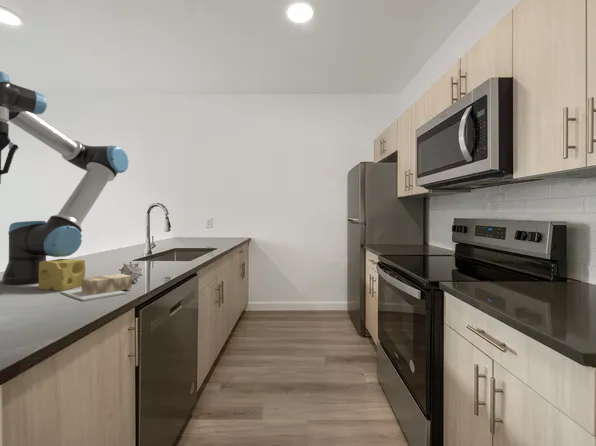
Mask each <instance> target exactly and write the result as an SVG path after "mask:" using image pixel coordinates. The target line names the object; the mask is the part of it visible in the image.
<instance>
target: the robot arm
mask: <svg viewBox="0 0 596 446" xmlns="http://www.w3.org/2000/svg"><path fill="white" fill-rule="evenodd" d="M47 104H48V101H47V98H46V96H45V95H43V94H42V93H40V92H37V91H36V90H32V89H30V88H26V87H23V86H20V85H18V84H17V85H16V84H14V83H12V82H11V80H10V76H9V75H8V74H7V73H6V72H3V71H0V185H1V183H2V182H1V180H2V177H1V176H2V175H6V174H8V173H9V170H10V168H11V164H12V162H13V159H14V155H15V153H16V152H17V150H18V149H19V146H18V145H17V144H16V143H13V142H12V141H11V139H10V137H9V136H10V135H9V133H10V132H9V131H10V130H9V128H10V127H9V126H10V125H9V123H8V122H10V123H12V124H13V125H15V126H16V127H18V128H20V129H21V130H22V131H24V132H26V133H27V134H29V135H30V136H32V137H34V138H35V139H37V140H39V141H40V142H42V143H43V144H45V145H46V146H48V147H49V148H50V149H52V150H54V151H55V152H57V153H59V154H60V155H61V157H62V159H64V160H65V161H67V162H69V163H70V164H71V165H73V166H75V167H76V168H78V169H81V170H84V171H86V173H85V174H84V175H83V176H82V179H81V180H80V182H79V183H77V186H76V187H75V189H74V190H73V192H72V193H71V195H70V196H69V197H68V199H67V200H66V202H65V203H64V205H63V206H62V208H60V211H59V212H58V213H57V214H54V215H53V214H52V215H51V216H50V217H49V218H48V220H47V221H45V220H30V221H17V222H16V221H14V222H12V223H10V225H9V229H8V234H7V235H8V263H7V264H6V267H5V270H4V272H3V274H2V283H3V284H6V285H29V284H39V262H42V261H47V256H48V257H52V258H53V257H54V258H61V257H63V258H65V257H69V256H71V255H73V254H75V253H76V252H77V251H78V250H79V249H80V247H81V245H82V240H83V239H82V238H83V236H82V235H83V234H82V230H83V229H82V226H81V225H82V223H83V222H84V220H85V218H86V217H87V215H88V214H89V212H90V211H91V209H92V207H93V206H94V204H95V203H96V201H97V200H98V198H99V196H100V195H101V193H102V191H103V190H104V188H105V187H106V185H107V183H109V182H113V181H114V180H115V178H116V177H117V175H118V174H122V173H124V172H126V171H127V170H128V168H129V159H128V158H129V157H128V155H127V153H126V151H125V150H124V149H123V148H122V147H120V146H118V145H112V144H110V145H100V146H99V145H96V146H94V145H93V146H91V145H86V144H83V143H81V142H80V141H78V140H73V139H71V138H70V137H69V136H67V135H66V134H64V133H62V132H61V131H60V130H58V129H57V128H56V127H54V126H53V125H52V124H50V123H48V122H47V121H46V120H44V119H43V118H41V117H40V116H39V115H42V114H44V112H46V110H47V107H48V105H47ZM7 146H8V149H9V151H8V153H7V156H6V159H5V162H4V165H3V167H2V151H3V150H4V149H6V147H7Z"/></svg>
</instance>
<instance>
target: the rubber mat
mask: <svg viewBox="0 0 596 446" xmlns="http://www.w3.org/2000/svg"><path fill="white" fill-rule="evenodd" d="M60 294H62V295H65V296H68V297H71V298H73V299H76V300H78V301H79V300H80V301H82V302H86V301H93V300H99V299H105V298H110V297H115V296H116V297H117V296H123V295H127V291H125V290H118V291H112V292H106V293H99V294H93V295H90V294H87V293H85V292H82V288H74V289H68V290H64V291H60Z"/></svg>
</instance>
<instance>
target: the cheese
mask: <svg viewBox="0 0 596 446" xmlns="http://www.w3.org/2000/svg"><path fill="white" fill-rule="evenodd" d="M82 278H86V260H85V259H70V258H58V259H51V260H46V261H42V262H39V283H38V289H39V290H54V291H57V290H58V292H61V291H68V290H73V289H77V288H81V287H82ZM80 286H81V287H80Z"/></svg>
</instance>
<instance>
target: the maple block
mask: <svg viewBox="0 0 596 446" xmlns="http://www.w3.org/2000/svg"><path fill="white" fill-rule="evenodd" d="M132 282H133V281H132V276H129V275H125V274H121V273H116V274H108V275H98V276H90V277H85V278H82V286H81V289H82V292H85V293H87V294H90V295H93V294H99V293H106V292H112V291H118V290H120V291H125V290H129V289H133V283H132Z"/></svg>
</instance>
